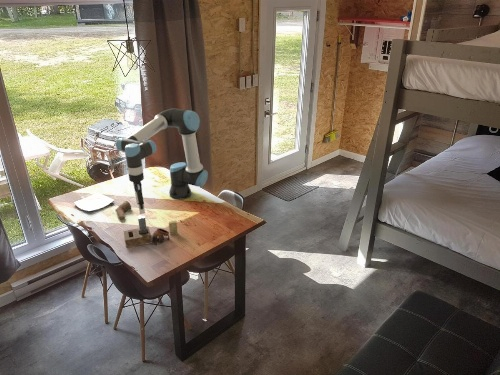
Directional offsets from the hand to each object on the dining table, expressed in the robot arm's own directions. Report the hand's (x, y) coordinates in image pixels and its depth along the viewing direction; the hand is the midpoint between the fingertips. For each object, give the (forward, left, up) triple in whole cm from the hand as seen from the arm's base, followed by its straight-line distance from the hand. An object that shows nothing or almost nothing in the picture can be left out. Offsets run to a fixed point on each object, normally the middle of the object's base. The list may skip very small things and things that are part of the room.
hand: (140, 207), depth 213 cm
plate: (+25, -54, -21) cm, 63 cm away
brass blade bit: (-17, 0, -21) cm, 27 cm away
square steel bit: (0, 0, -20) cm, 20 cm away
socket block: (+4, 0, -21) cm, 21 cm away
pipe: (+8, -34, -21) cm, 40 cm away
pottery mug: (-8, +6, -21) cm, 23 cm away
